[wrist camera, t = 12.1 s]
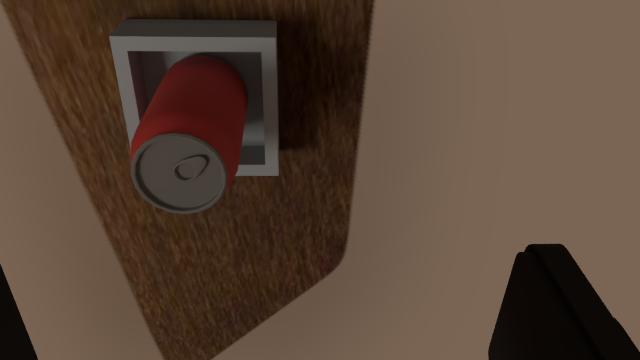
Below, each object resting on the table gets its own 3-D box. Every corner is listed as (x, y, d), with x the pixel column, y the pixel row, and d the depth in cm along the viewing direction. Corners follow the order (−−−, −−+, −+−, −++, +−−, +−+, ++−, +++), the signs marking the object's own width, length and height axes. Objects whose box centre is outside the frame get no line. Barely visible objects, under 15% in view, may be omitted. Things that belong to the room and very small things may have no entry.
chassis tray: (124, 18, 39) (109, 36, 35) (276, 20, 39) (275, 37, 36) (147, 150, 44) (136, 176, 41) (279, 150, 45) (278, 175, 42)
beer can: (266, 102, 42) (259, 186, 31) (201, 145, 43) (176, 238, 33) (210, 34, 38) (183, 103, 28) (143, 84, 40) (95, 166, 30)
